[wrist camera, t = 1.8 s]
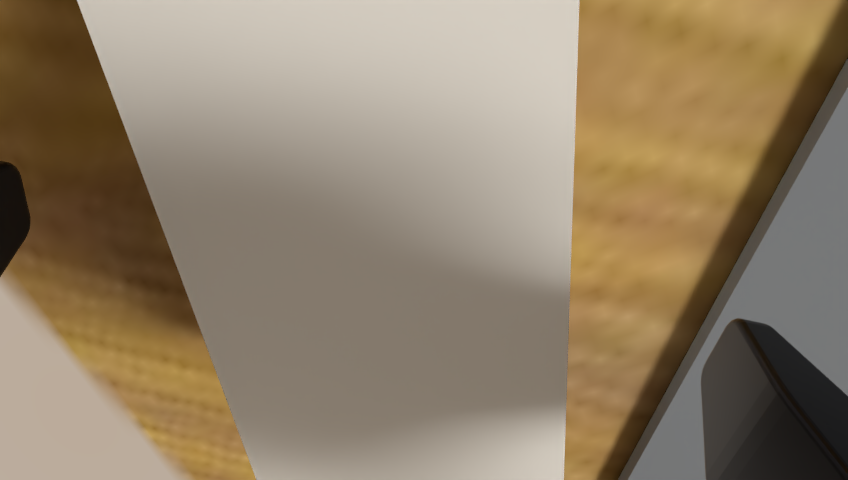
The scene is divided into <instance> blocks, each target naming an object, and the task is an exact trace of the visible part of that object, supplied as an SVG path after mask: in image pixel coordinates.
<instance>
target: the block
mask: <svg viewBox="0 0 848 480" xmlns="http://www.w3.org/2000/svg"><path fill="white" fill-rule="evenodd" d="M77 2H78V5H79V7H80V10H81V13H82V15H83V18H84V21H85V23H86V26H87V29H88V31H89V34H90V37H91V39H92V42H93V45H94V47H95V50H96V53H97V55H98V58H99V61H100V63H101V66H102V69H103V71H104V74H105V77H106V79H107V82H108V85H109V87H110V90H111V93H112V95H113V98H114V101H115V103H116V106H117V109H118V111H119V114H120V117H121V119H122V122H123V125H124V127H125V130H126V133H127V135H128V138H129V141H130V143H131V146H132V149H133V151H134V154H135V157H136V159H137V162H138V165H139V167H140V170H141V173H142V175H143V178H144V181H145V183H146V186H147V189H148V191H149V194H150V197H151V199H152V202H153V205H154V207H155V210H156V213H157V215H158V218H159V221H160V223H161V226H162V229H163V231H164V234H165V237H166V239H167V242H168V245H169V247H170V250H171V253H172V255H173V258H174V261H175V263H176V266H177V269H178V271H179V274H180V277H181V279H182V282H183V285H184V287H185V290H186V293H187V295H188V298H189V301H190V303H191V306H192V309H193V311H194V314H195V317H196V319H197V322H198V325H199V327H200V330H201V333H202V335H203V338H204V341H205V344H206V346H207V349H208V352H209V354H210V357H211V360H212V362H213V365H214V368H215V370H216V373H217V376H218V378H219V381H220V384H221V386H222V389H223V392H224V394H225V397H226V400H227V402H228V405H229V408H230V410H231V413H232V416H233V418H234V421H235V424H236V426H237V429H238V432H239V434H240V437H241V440H242V442H243V445H244V448H245V450H246V453H247V456H248V458H249V461H250V464H251V466H252V469H253V472H254V474H255V477H256V480H564V456H565V425H566V394H567V363H568V333H569V302H570V271H571V240H572V210H573V179H574V148H575V117H576V87H577V56H578V25H579V0H77Z"/></svg>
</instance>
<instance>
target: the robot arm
mask: <svg viewBox="0 0 848 480" xmlns="http://www.w3.org/2000/svg"><path fill="white" fill-rule="evenodd" d="M29 228H30V213H29V209H28V205H27V201H26V196H25V192H24V188H23V183H22V179H21V175H20V172H19V171H18V169H17V168H16V167H15V166H14V165H13V164H11V163H9V162H4V161H0V277H1V275H2V273H3V272H4V270H5V269H6V267H7V266H8V264H9V263H10V261H11V260H12V258H13V257H14V255H15V254H16V252H17V251H18V249H19V248H20V246H21V244H22V243H23V241H24V240H25V238H26V236H27V234H28V232H29ZM701 397H702V417H703V436H704V456H705V475H706V480H848V396H847V395H846V394H845V393H844V392H843V391H842V390H841V389H840V388H839V387H837V386H836V385H835V384H834V383H833V382H832V381H831V380H830V379H829V378H828V377H826V376H825V375H824V374H823V373H822V372H821V371H820V370H819V369H818V368H817V367H815V366H814V365H813V364H812V363H811V362H810V361H809V360H808V359H807V358H806V357H804V356H803V355H802V354H801V353H800V352H799V351H798V350H797V349H796V348H795V347H793V346H792V345H791V344H790V343H789V342H788V341H787V340H786V339H785V338H784V337H782V336H781V335H780V334H779V333H778V332H777V331H776V330H775V329H774V328H772V327H771V326H770V325H767V324H764V323H760V322H755V321H750V320H746V319H741V318H737V319H734V320H732V321H731V322H729V323H728V325H727V326H726V327H725V329H724V331H723V333H722V334H721V336H720V338H719V340H718V341H717V343H716V345H715V347H714V348H713V350H712V352H711V353H710V355H709V357H708V359H707V360H706V362H705V364H704V367H703V370H702V375H701Z"/></svg>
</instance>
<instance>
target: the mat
mask: <svg viewBox="0 0 848 480" xmlns="http://www.w3.org/2000/svg"><path fill="white" fill-rule="evenodd" d="M737 318H741V319H746V320H750V321H755V322H760V323H764V324H767V325H770V326H771V327H772V328H774V329H775V330H776V331H777V332H778V333H779V334H780V335H781V336H782V337H784V338H785V339H786V340H787V341H788V342H789V343H790V344H791V345H792V346H793V347H795V348H796V349H797V350H798V351H799V352H800V353H801V354H802V355H803V356H804V357H806V358H807V359H808V360H809V361H810V362H811V363H812V364H813V365H814V366H815V367H817V368H818V369H819V370H820V371H821V372H822V373H823V374H824V375H825V376H826V377H828V378H829V379H830V380H831V381H832V382H833V383H834V384H835V385H836V386H837V387H839V388H840V389H841V390H842V391H843V392H844V393H845V394H846V395H847V396H848V58H847V60H846V62H845V64H844V66H843V68H842V69H841V71H840V73H839V75H838V77H837V79H836V80H835V82H834V84H833V86H832V88H831V90H830V91H829V93H828V95H827V97H826V99H825V101H824V102H823V104H822V106H821V108H820V110H819V112H818V113H817V115H816V117H815V119H814V121H813V123H812V124H811V126H810V128H809V130H808V132H807V134H806V135H805V137H804V139H803V141H802V143H801V145H800V146H799V148H798V150H797V152H796V154H795V156H794V157H793V159H792V161H791V163H790V165H789V167H788V168H787V170H786V172H785V174H784V176H783V178H782V179H781V181H780V183H779V185H778V187H777V189H776V190H775V192H774V194H773V196H772V198H771V200H770V201H769V203H768V205H767V207H766V209H765V211H764V212H763V214H762V216H761V218H760V220H759V222H758V223H757V225H756V227H755V229H754V231H753V233H752V234H751V236H750V238H749V240H748V242H747V244H746V245H745V247H744V249H743V251H742V253H741V255H740V256H739V258H738V260H737V262H736V264H735V266H734V267H733V269H732V271H731V273H730V275H729V277H728V278H727V280H726V282H725V284H724V286H723V288H722V289H721V291H720V293H719V295H718V297H717V299H716V300H715V302H714V304H713V306H712V308H711V310H710V311H709V313H708V315H707V317H706V319H705V321H704V322H703V324H702V326H701V328H700V330H699V332H698V333H697V335H696V337H695V339H694V341H693V343H692V344H691V346H690V348H689V350H688V352H687V354H686V355H685V357H684V359H683V361H682V363H681V365H680V366H679V368H678V370H677V372H676V374H675V376H674V377H673V379H672V381H671V383H670V385H669V387H668V388H667V390H666V392H665V394H664V396H663V398H662V399H661V401H660V403H659V405H658V407H657V409H656V410H655V412H654V414H653V416H652V418H651V420H650V421H649V423H648V425H647V427H646V429H645V431H644V432H643V434H642V436H641V438H640V440H639V442H638V443H637V445H636V447H635V449H634V451H633V453H632V454H631V456H630V458H629V460H628V462H627V464H626V465H625V467H624V469H623V471H622V473H621V475H620V476H619V478H618V480H706V475H705V456H704V436H703V417H702V397H701V375H702V370H703V367H704V364H705V362H706V360H707V359H708V357H709V355H710V353H711V352H712V350H713V348H714V347H715V345H716V343H717V341H718V340H719V338H720V336H721V334H722V333H723V331H724V329H725V327H726V326H727V325H728V323H729V322H731V321H732V320H734V319H737Z"/></svg>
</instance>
